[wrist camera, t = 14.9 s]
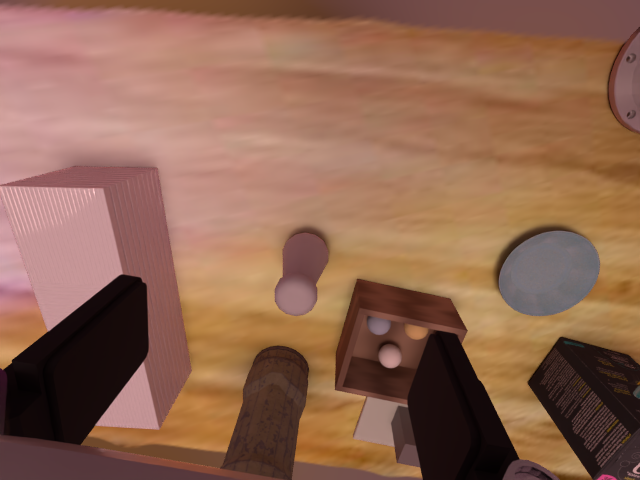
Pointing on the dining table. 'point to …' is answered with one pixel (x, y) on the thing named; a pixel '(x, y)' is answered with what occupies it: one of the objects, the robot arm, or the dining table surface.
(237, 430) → the thermos
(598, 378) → the tampon box
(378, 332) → the ball
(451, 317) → the box
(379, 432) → the lid
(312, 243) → the salt shaker
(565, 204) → the dining table surface
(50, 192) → the pink rectangular block
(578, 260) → the saucer
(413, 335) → the ball
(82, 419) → the robot arm
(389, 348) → the ball
